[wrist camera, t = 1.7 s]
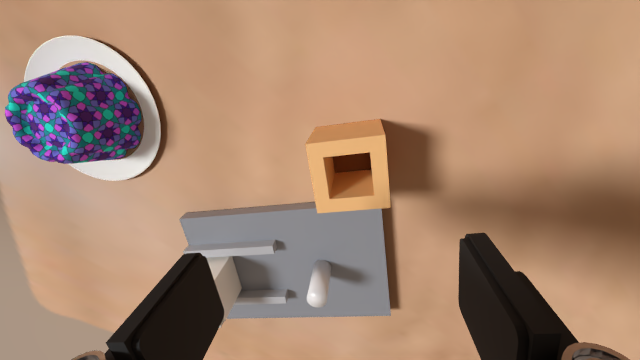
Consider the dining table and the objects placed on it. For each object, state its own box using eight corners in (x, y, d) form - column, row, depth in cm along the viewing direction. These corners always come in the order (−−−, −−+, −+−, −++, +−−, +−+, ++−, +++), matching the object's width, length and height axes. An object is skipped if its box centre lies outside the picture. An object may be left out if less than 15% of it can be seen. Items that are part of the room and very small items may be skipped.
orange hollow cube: (380, 119, 23) (385, 134, 18) (384, 179, 25) (390, 207, 20) (315, 127, 24) (305, 144, 19) (324, 185, 25) (317, 213, 21)
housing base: (380, 196, 25) (384, 229, 20) (389, 305, 29) (395, 354, 25) (186, 212, 28) (151, 244, 23) (220, 309, 32) (196, 353, 28)
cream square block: (231, 254, 28) (208, 289, 24) (241, 288, 29) (222, 327, 25) (192, 256, 28) (163, 291, 24) (204, 289, 30) (178, 327, 26)
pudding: (193, 117, 25) (153, 131, 20) (122, 201, 29) (75, 230, 24) (70, -1, 22) (-9, -17, 18) (12, 109, 27) (-64, 120, 22)
